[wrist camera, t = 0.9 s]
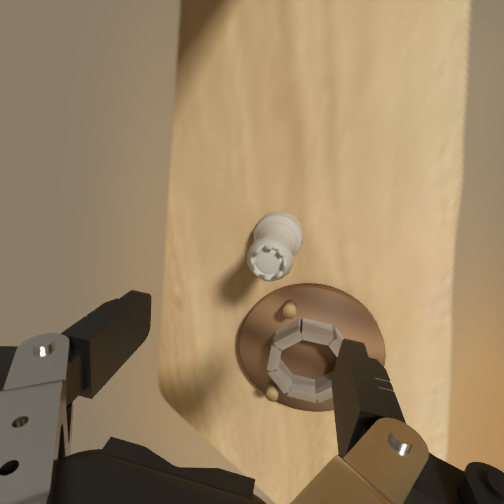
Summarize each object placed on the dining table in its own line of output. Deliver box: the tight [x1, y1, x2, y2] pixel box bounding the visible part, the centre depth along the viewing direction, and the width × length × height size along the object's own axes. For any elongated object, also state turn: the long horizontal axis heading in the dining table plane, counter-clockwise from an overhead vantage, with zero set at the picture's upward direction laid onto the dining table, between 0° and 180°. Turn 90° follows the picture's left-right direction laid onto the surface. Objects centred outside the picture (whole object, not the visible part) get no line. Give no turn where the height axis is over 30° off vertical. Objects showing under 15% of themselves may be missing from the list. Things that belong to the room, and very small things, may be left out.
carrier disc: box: [239, 283, 386, 412], centre depth 29 cm, size 14×14×3 cm
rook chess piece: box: [247, 212, 303, 281], centre depth 23 cm, size 4×4×8 cm
